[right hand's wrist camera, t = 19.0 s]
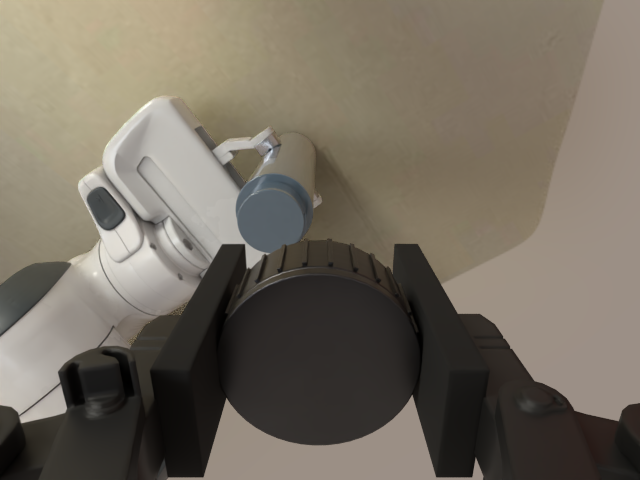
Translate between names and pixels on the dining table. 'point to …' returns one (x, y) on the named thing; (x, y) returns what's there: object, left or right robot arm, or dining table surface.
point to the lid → (318, 344)
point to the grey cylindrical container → (279, 195)
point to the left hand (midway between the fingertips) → (296, 163)
